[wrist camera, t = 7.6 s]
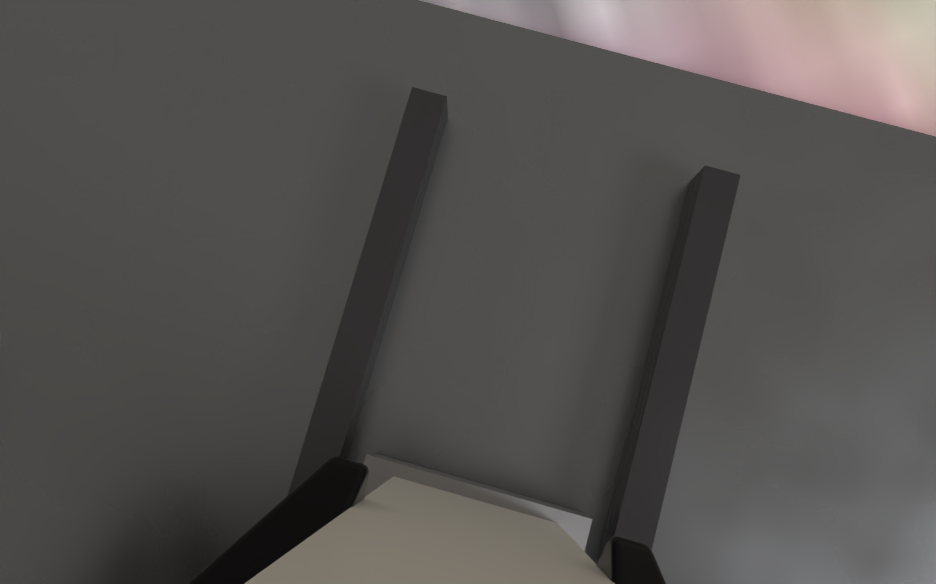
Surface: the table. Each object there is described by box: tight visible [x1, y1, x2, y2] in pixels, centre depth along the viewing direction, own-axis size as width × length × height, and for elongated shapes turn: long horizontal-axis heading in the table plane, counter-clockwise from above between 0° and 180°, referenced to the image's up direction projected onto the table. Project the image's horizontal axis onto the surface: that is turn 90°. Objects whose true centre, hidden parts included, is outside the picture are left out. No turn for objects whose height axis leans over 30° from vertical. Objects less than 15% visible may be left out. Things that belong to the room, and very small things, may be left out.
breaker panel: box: [0, 0, 936, 584], centre depth 13 cm, size 14×29×5 cm, turn 74°
